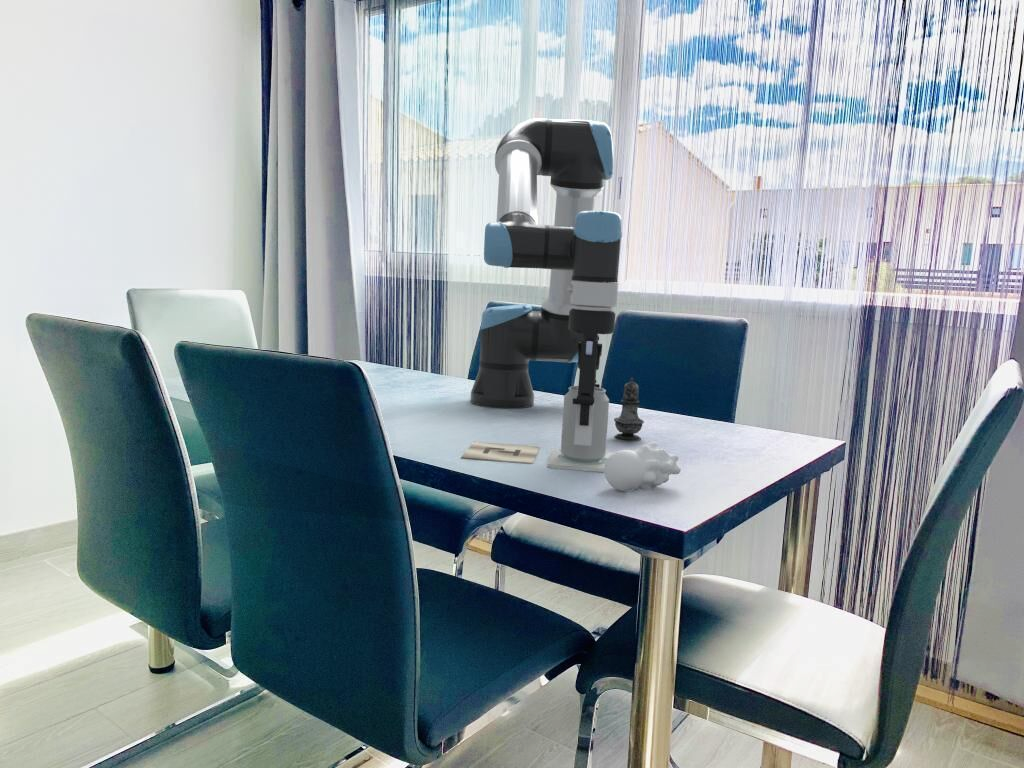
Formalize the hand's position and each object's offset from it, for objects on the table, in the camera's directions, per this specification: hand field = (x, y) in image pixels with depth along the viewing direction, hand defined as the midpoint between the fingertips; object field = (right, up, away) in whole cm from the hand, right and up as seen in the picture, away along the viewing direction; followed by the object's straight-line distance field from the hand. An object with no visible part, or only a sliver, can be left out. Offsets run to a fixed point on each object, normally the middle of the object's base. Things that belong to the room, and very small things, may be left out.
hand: (584, 435), depth 126 cm
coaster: (0, -4, 0) cm, 5 cm away
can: (0, -4, 0) cm, 4 cm away
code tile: (-14, -3, +4) cm, 15 cm away
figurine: (+7, -7, -13) cm, 17 cm away
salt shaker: (+11, -2, +21) cm, 24 cm away
